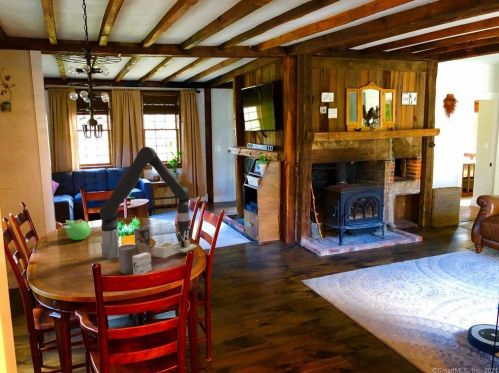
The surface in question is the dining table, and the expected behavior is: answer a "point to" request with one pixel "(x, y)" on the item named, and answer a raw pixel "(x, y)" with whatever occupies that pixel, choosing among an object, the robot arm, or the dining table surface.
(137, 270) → the ink box
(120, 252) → the pillar candle
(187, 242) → the lid
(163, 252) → the cream box
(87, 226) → the green round pot
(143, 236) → the coffee box
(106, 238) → the robot arm
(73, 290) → the dining table surface
